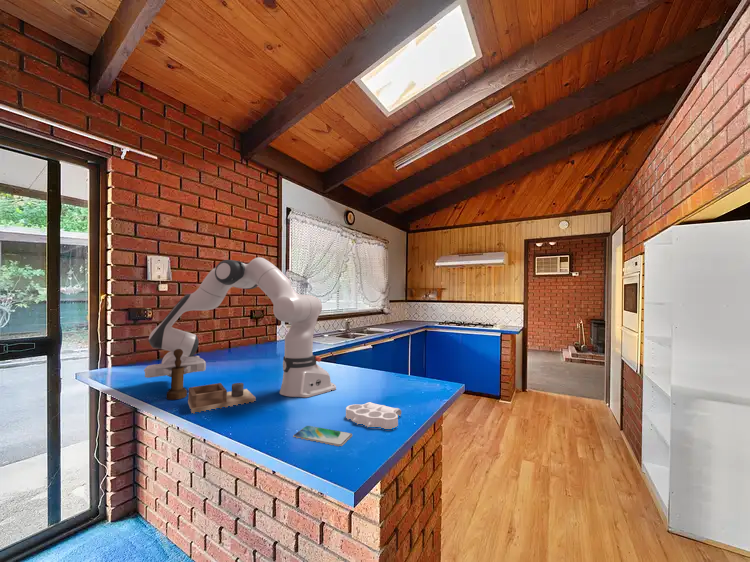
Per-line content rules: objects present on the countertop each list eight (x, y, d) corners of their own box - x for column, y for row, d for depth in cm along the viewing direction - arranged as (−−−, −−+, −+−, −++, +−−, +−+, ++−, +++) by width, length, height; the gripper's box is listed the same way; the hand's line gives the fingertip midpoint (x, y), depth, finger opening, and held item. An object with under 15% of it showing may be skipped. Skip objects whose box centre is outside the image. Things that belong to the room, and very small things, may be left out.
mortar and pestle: (190, 394, 120) (192, 347, 121) (178, 400, 114) (180, 350, 115) (174, 394, 121) (176, 347, 122) (161, 399, 114) (163, 350, 115)
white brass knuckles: (410, 419, 98) (386, 436, 86) (363, 408, 108) (336, 422, 95) (410, 408, 98) (386, 424, 86) (363, 398, 108) (336, 411, 96)
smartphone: (341, 445, 79) (292, 435, 84) (341, 449, 79) (292, 439, 84) (353, 433, 86) (307, 425, 91) (353, 436, 85) (307, 427, 91)
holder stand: (246, 392, 123) (246, 378, 123) (255, 401, 112) (255, 386, 113) (187, 402, 111) (188, 387, 111) (191, 413, 101) (192, 396, 101)
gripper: (144, 360, 122) (143, 367, 111) (203, 355, 134) (208, 360, 123) (143, 377, 122) (143, 385, 111) (202, 369, 134) (207, 376, 123)
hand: (177, 372), depth 117 cm, fingers closed on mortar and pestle, 4 cm apart
